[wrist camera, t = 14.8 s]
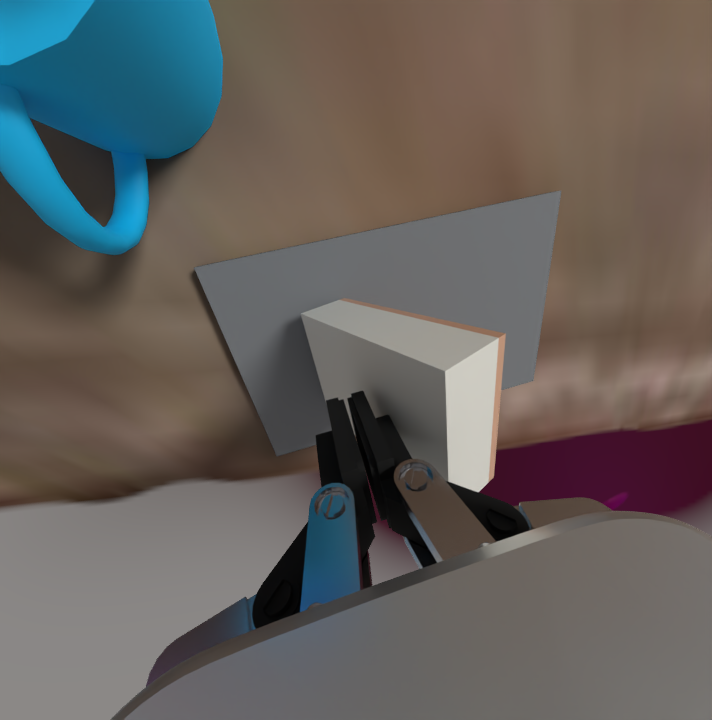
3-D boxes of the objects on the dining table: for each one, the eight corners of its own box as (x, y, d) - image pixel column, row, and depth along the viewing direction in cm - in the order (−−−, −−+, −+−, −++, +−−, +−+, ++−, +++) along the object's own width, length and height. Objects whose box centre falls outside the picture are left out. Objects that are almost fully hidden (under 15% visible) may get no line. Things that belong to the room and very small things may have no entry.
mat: (197, 266, 15) (194, 267, 14) (552, 191, 17) (561, 190, 17) (277, 450, 21) (276, 456, 21) (527, 377, 24) (533, 380, 23)
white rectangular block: (300, 313, 15) (445, 371, 8) (344, 298, 17) (505, 333, 9) (328, 410, 19) (449, 520, 11) (363, 391, 20) (493, 476, 12)
